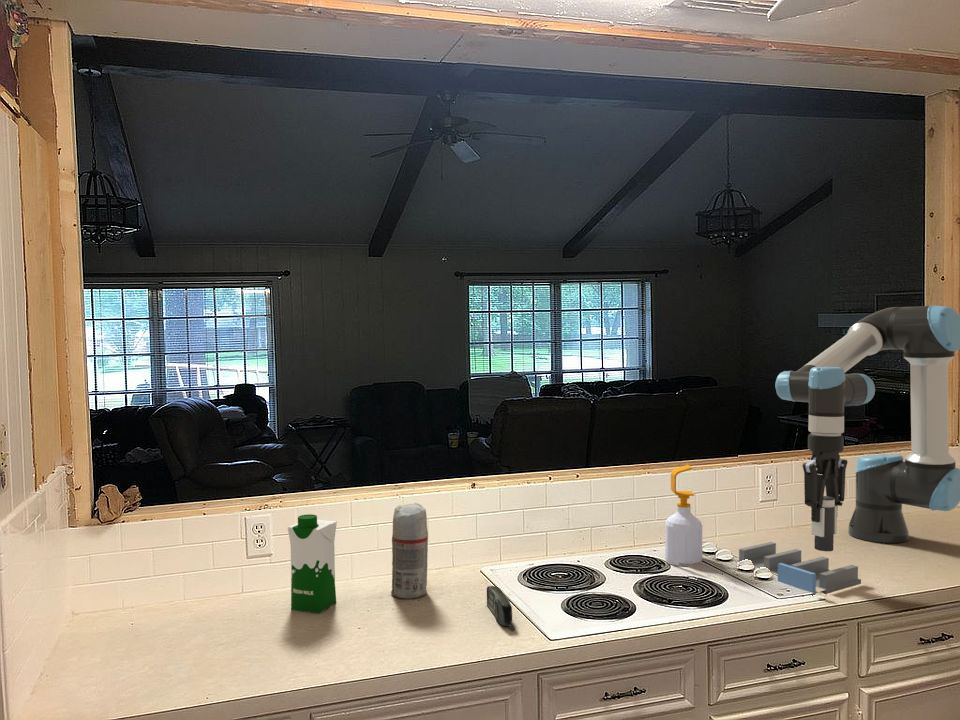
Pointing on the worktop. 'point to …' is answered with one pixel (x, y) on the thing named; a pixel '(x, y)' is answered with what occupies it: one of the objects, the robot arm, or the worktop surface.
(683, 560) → the soap bottle
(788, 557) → the grey slotted rack
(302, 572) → the milk carton
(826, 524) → the grey banded cylinder
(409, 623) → the worktop surface
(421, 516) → the spray can
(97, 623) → the worktop surface
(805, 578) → the blue rectangular block
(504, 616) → the mobile phone
